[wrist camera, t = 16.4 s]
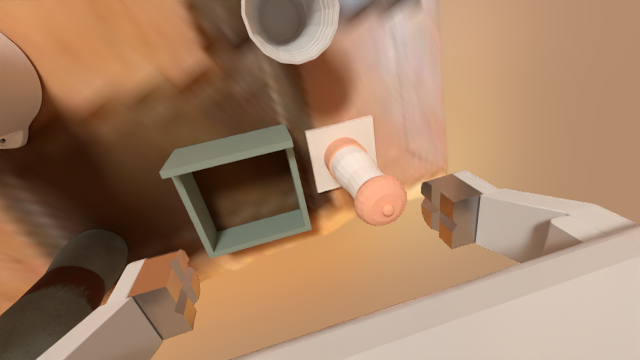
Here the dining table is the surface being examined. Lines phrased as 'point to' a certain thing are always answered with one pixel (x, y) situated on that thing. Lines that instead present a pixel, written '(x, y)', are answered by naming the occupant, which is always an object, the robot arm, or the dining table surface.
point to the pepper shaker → (365, 182)
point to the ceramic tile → (326, 135)
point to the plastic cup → (291, 27)
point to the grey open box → (226, 152)
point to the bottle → (62, 294)
